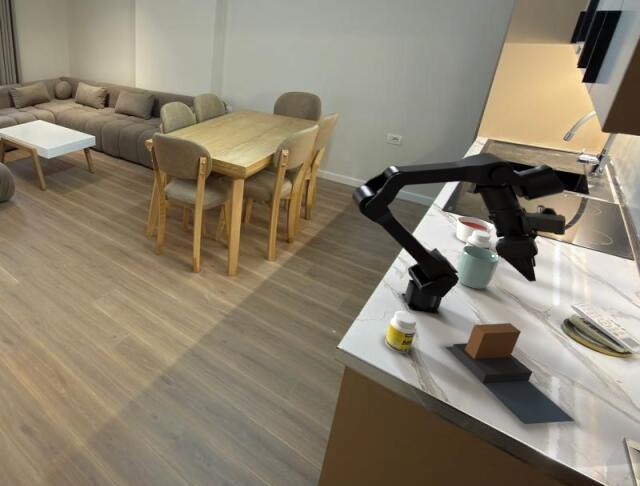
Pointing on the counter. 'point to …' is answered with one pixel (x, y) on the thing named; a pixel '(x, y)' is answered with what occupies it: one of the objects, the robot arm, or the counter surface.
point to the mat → (526, 401)
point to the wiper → (492, 354)
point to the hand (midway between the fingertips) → (532, 273)
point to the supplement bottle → (401, 332)
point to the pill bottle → (479, 239)
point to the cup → (476, 266)
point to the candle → (471, 227)
